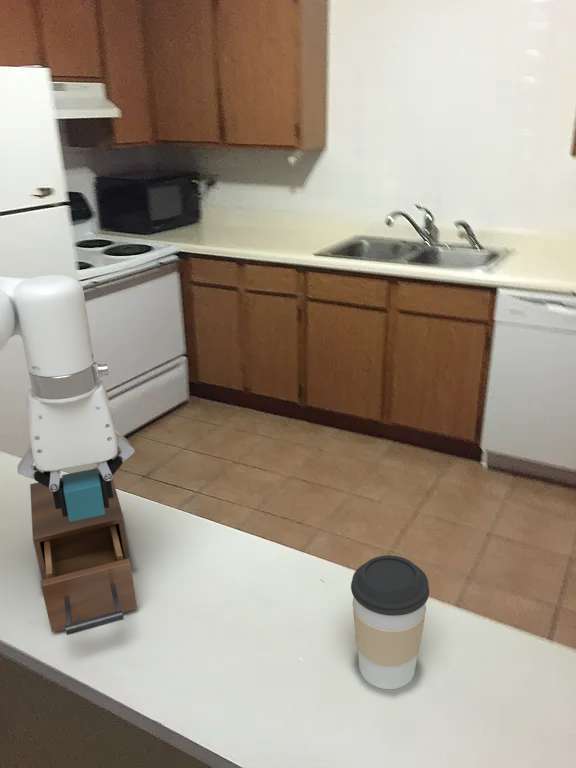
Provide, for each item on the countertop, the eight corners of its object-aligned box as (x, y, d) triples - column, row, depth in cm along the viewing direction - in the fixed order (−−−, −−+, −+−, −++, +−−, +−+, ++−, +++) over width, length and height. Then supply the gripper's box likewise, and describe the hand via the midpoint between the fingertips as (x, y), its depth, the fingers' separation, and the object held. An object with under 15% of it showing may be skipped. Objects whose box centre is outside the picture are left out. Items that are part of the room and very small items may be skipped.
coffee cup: (338, 651, 86) (338, 557, 79) (401, 631, 88) (405, 538, 82) (371, 707, 78) (373, 606, 72) (438, 683, 81) (446, 584, 75)
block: (69, 522, 85) (63, 492, 83) (67, 503, 89) (61, 474, 87) (105, 514, 87) (100, 484, 85) (101, 496, 90) (97, 467, 89)
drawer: (145, 641, 87) (138, 594, 84) (54, 668, 83) (43, 620, 80) (122, 548, 105) (115, 506, 102) (46, 566, 102) (37, 524, 98)
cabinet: (131, 570, 101) (123, 517, 98) (45, 593, 98) (32, 539, 94) (117, 515, 115) (109, 467, 111) (40, 533, 111) (30, 483, 107)
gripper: (130, 358, 86) (145, 479, 94) (-11, 379, 81) (17, 505, 88) (139, 380, 80) (154, 508, 87) (-13, 403, 75) (17, 538, 82)
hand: (85, 505), depth 88 cm, fingers closed on block, 4 cm apart
